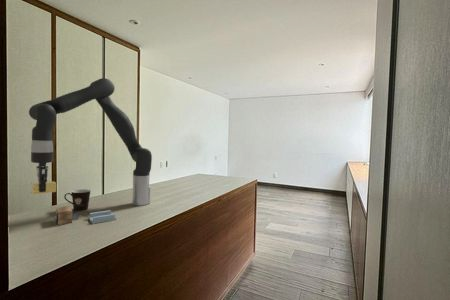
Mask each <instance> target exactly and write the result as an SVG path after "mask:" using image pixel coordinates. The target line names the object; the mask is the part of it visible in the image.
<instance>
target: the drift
mask: <svg viewBox="0 0 450 300" xmlns="http://www.w3.org/2000/svg"><path fill="white" fill-rule="evenodd" d="M79 215H80V214H79V212H78V211H72V221H75V220H79ZM53 223H54V224H56V225H58V216H56V215H55V216H53Z"/></svg>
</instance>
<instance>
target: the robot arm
mask: <svg viewBox="0 0 450 300" xmlns="http://www.w3.org/2000/svg"><path fill="white" fill-rule="evenodd" d="M114 92H115V84H114V82H113V81H111V80H110V79H108V78H98V79H97V80H94V81H91V83H90V84H89V85H88V86H86V87H84V88H81V89H78V90H75V91H72V92H68V93H65V94H63V95H60V96H57V97H55V98H53V99H50V100H46V101H42V102H39V103H36V104H33V105H32V106H30V108H29V110H28V115H29V116H30V118H31V119H32V120H35V121H36V124H35V126H33V128H32V129H31V145H30V162H31V163H34V164H38V165H37V166H35V170H36V177H37V181H38V183H39V192H45V191H46V182H48V174H49V173H48V171H49V166H48V165H47V163H48V164H49V163H53V162H54V141H53V140H54V139H53V136H54V135H53V133H54V132H53V130H54V127H55V123H56V118H57V115H59V114H65V113H67V112H69V111H72V110H74V109H77V108H79V107H80V106H82V105H84V104H86V103H89V102H92V101H94V100H95V101H96V102H97V103H98V105H99V106H100V107H101V109H102V110H103V112H104V113H105V115H106V117H107V118H108V120H109V122H110V123H111V125H112V127H113V128H114V129H115V132H116V133H117V134H118V136H119V137H120V139H121V140H122V142H123V143H124V145H125V146H126V148H127V150H128V152H129V153H128V154H129V155H130V157H131V159H132V160H133V162H135V168H134V169H133V171H132V200H131V204H132V205H134V206H146V205H149V204H150V203H151V187H150V173H151V171H152V162H153V161H152V160H153V155H152V152H151V150H150V149H148V148H145V147H144V148H143V147H142V145H141V144H140V143H139V141H138V139H137V137H136V131H135V128H134V125H133V123H132V122H131V120H130V118H129V116H128V115H127V114H126V113H125V112H124V111H123V110H122V109H121V108H119V107H118V106H117V105H116V104H115V102H114V101H113V100H112V99H111V97H110V96H112V95H113V94H114Z"/></svg>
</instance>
